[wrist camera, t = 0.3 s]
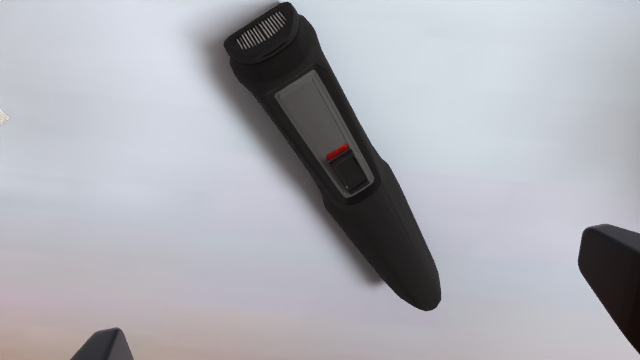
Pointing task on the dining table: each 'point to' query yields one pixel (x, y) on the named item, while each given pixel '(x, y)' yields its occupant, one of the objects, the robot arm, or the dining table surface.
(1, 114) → the plug block
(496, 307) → the dining table surface
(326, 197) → the electric trimmer
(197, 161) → the dining table surface
